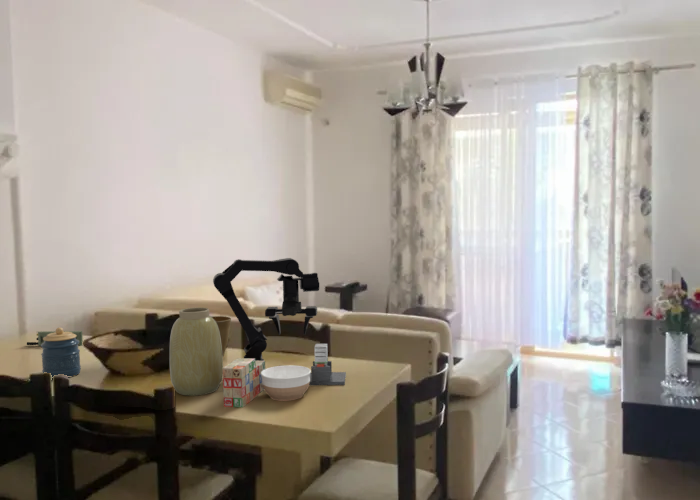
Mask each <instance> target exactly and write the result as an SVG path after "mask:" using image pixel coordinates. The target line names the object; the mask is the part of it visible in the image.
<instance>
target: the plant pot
mask: <svg viewBox="0 0 700 500" xmlns="http://www.w3.org/2000/svg"><path fill="white" fill-rule="evenodd" d="M210 316H211V315H210ZM211 317H212V318H213V319H214V320H215V321H216V323H217V325H218V328H219V332H220V338H221V345H222V356H223V357H224V356H225V352H226V349H227V346H228V342H229V337H230V331H231V324H232V323H231V322H232V318H231V316H230V317H229V316H223V315H215V316H213V315H212V316H211Z"/></svg>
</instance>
